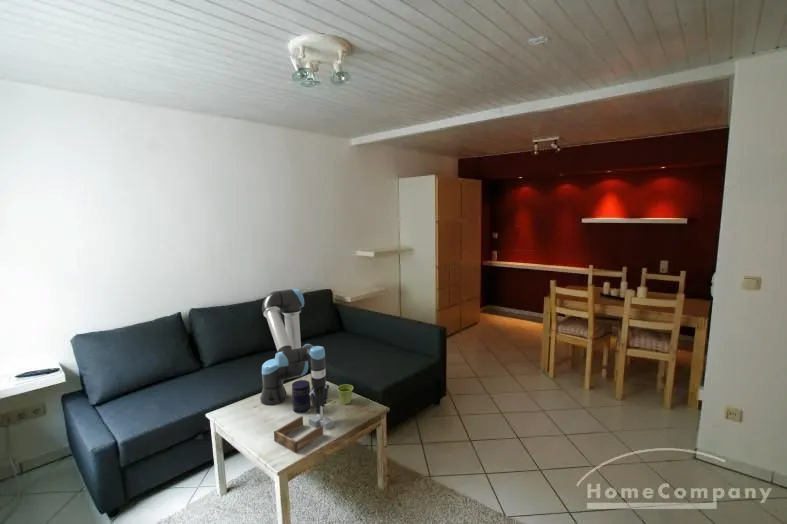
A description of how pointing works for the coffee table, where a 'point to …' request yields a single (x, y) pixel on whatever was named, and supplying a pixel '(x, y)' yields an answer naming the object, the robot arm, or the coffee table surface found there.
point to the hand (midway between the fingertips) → (320, 418)
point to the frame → (300, 443)
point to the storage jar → (301, 396)
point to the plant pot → (345, 393)
